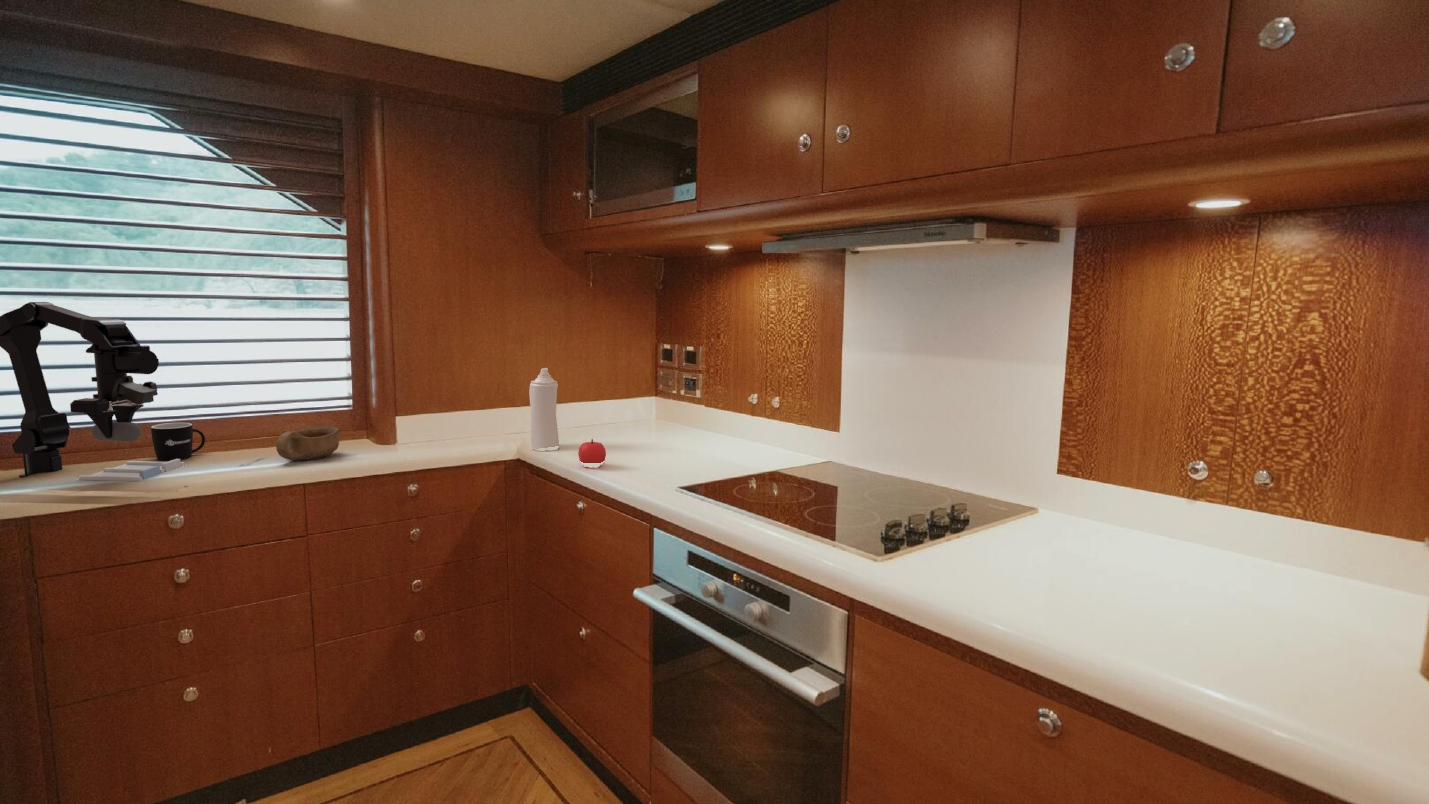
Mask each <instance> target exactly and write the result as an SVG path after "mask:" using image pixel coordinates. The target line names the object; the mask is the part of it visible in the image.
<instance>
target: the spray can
mask: <svg viewBox="0 0 1429 804" xmlns="http://www.w3.org/2000/svg"><path fill="white" fill-rule="evenodd" d="M558 387H559V385H558V381H557V380H555V379H554V378H553V377H552V375H551V374H550V373H549V368H548V367H543V368H541V369H540V372H539V374H538V375H537V377H536V378H535V379H534V380H530V383H529V390H528V395H529V408H530V444H531V445H530V446H531V450H532V449H539V448H548V447H555V446H559V447H560V440H559V437H560V436H559V431H558V430H559V429H558V422H557V421H558V420H557V419H558V418H557V401H558V399H557V397H558Z"/></svg>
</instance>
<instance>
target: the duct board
mask: <svg viewBox="0 0 1429 804" xmlns="http://www.w3.org/2000/svg"><path fill="white" fill-rule="evenodd" d="M186 467H189V464H186V463H185V462H184V461H182V460H180V459H175V460H171V461H147V460H144V461H143V460H142V461H141V460H137V461H136V460H128V461H126V462H125V463H124V464H120V465H118V466H114V467H105V468H103V470H102V471H99V472H95V473H92V474H88V475H84V474H83V475H82V474H81V475H79V476H78V477H77V478H75V479H74V480H75V481H76V480H77V481H115V482H117V481H121V482H122V481H123V482H125V481H126V482H129V481H130V482H145V481H148V480H151V479H154V478H157V477H160V476H162V475H165V474H166V475H167V474H168V473H171V472H174V471H176V470H180V469H182V468H183V469H184V468H186Z"/></svg>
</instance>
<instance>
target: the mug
mask: <svg viewBox="0 0 1429 804" xmlns="http://www.w3.org/2000/svg"><path fill="white" fill-rule="evenodd" d="M150 432H151V433H150V435H151V440H152V445H153V449H154V454H155V456H156V457H155V458H156V459H157V460H158V462H168V461H171V460H175V459H180V461H182V460H183V461H184V460H187V459H190V458H191V456H192V455H193V453H196V452H198V451H200V450H201V449H202V448H203V447H204V445H205V443H206V438H205V435H204V433H203V432H202V431H201V430H199V429H197V428H193V424H192V423H190V422H167V423H160V424H159V423H158V424H155V425H152V426H151V427H150ZM194 433H198V435H200V437H201V442H200V444H199V445H198V446H197V447H195V448H194V449H193V444H194V443H193V442H194V441H193V440H194V439H193V437H194Z"/></svg>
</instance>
